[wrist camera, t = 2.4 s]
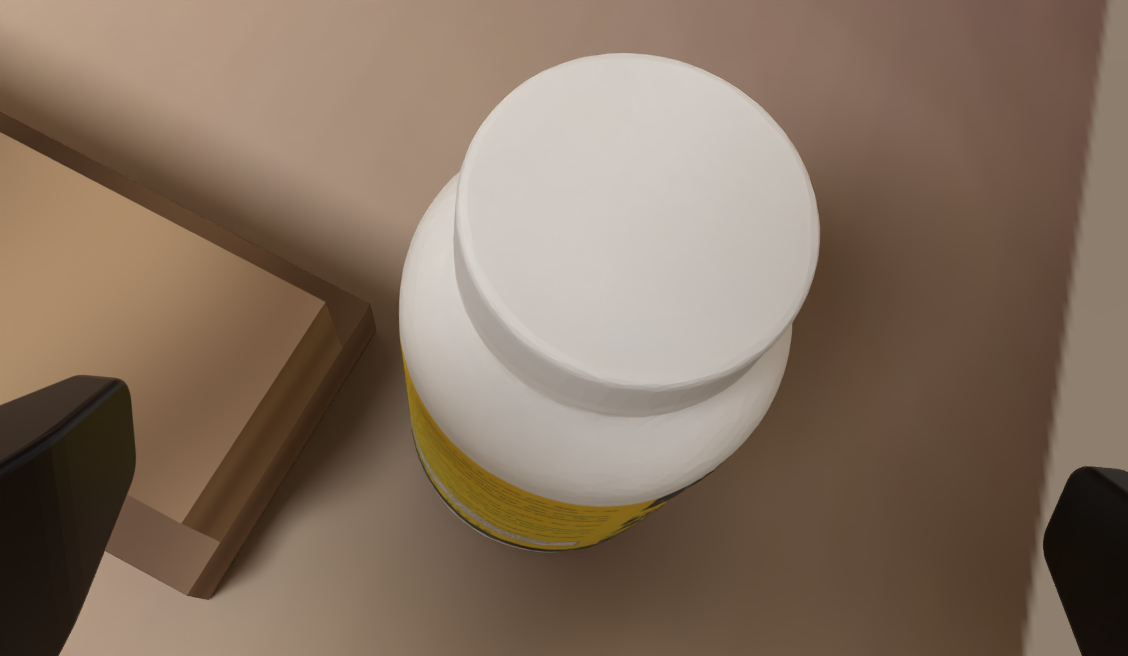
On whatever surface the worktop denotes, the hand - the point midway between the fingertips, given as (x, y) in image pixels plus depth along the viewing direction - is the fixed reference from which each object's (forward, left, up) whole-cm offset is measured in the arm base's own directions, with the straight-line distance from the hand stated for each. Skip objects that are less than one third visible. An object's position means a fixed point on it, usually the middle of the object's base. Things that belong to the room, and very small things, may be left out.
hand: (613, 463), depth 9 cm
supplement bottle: (+1, -3, -10) cm, 11 cm away
